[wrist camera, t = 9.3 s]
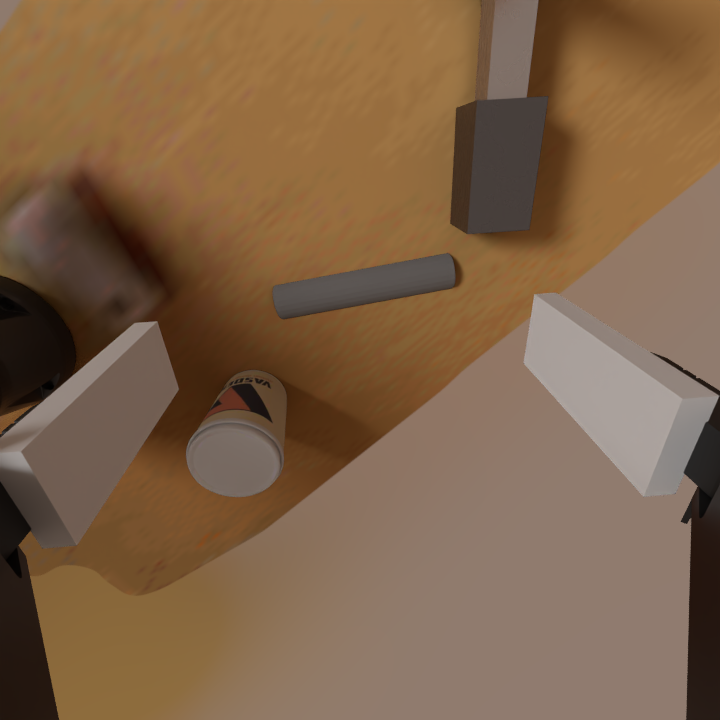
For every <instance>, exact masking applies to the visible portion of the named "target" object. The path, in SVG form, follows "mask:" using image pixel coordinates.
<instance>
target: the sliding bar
mask: <svg viewBox="0 0 720 720" xmlns="http://www.w3.org/2000/svg"><path fill="white" fill-rule="evenodd" d="M537 9H538V0H482V5H481V19H480V33H479V48H478V62H477V76H476V90H475V101H477V100H492V99H509V98H526V97H527V91H528V83H529V74H530V66H531V58H532V50H533V42H534V33H535V25H536V17H537Z"/></svg>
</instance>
